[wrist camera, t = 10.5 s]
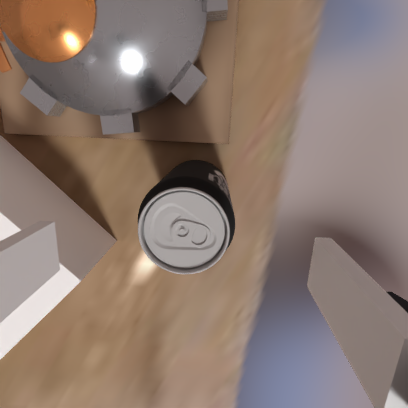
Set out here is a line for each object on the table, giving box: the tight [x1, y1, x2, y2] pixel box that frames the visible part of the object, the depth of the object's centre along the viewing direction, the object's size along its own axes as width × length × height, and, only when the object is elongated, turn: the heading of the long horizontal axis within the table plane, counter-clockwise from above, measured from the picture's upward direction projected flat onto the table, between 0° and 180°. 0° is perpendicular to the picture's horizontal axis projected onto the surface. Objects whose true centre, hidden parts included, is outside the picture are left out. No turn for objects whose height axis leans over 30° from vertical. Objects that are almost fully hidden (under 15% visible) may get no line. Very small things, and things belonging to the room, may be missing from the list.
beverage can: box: [138, 160, 235, 274], centre depth 22 cm, size 7×7×12 cm
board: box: [0, 0, 239, 144], centre depth 24 cm, size 22×21×1 cm
